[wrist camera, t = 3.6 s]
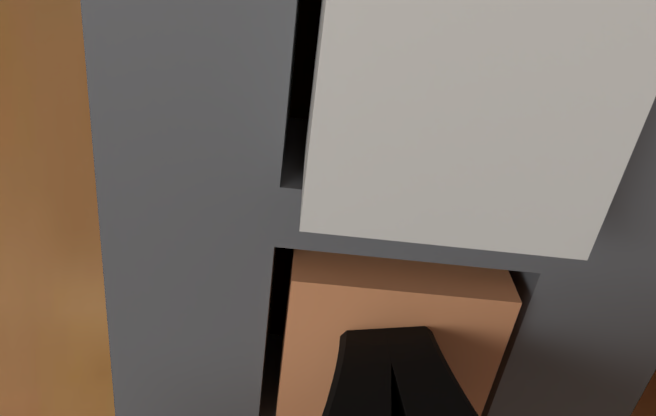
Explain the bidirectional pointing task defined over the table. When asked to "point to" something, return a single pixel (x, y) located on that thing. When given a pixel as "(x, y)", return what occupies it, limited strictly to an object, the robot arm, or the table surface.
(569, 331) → the switch panel
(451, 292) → the orange button
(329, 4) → the grey button
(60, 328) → the table surface
